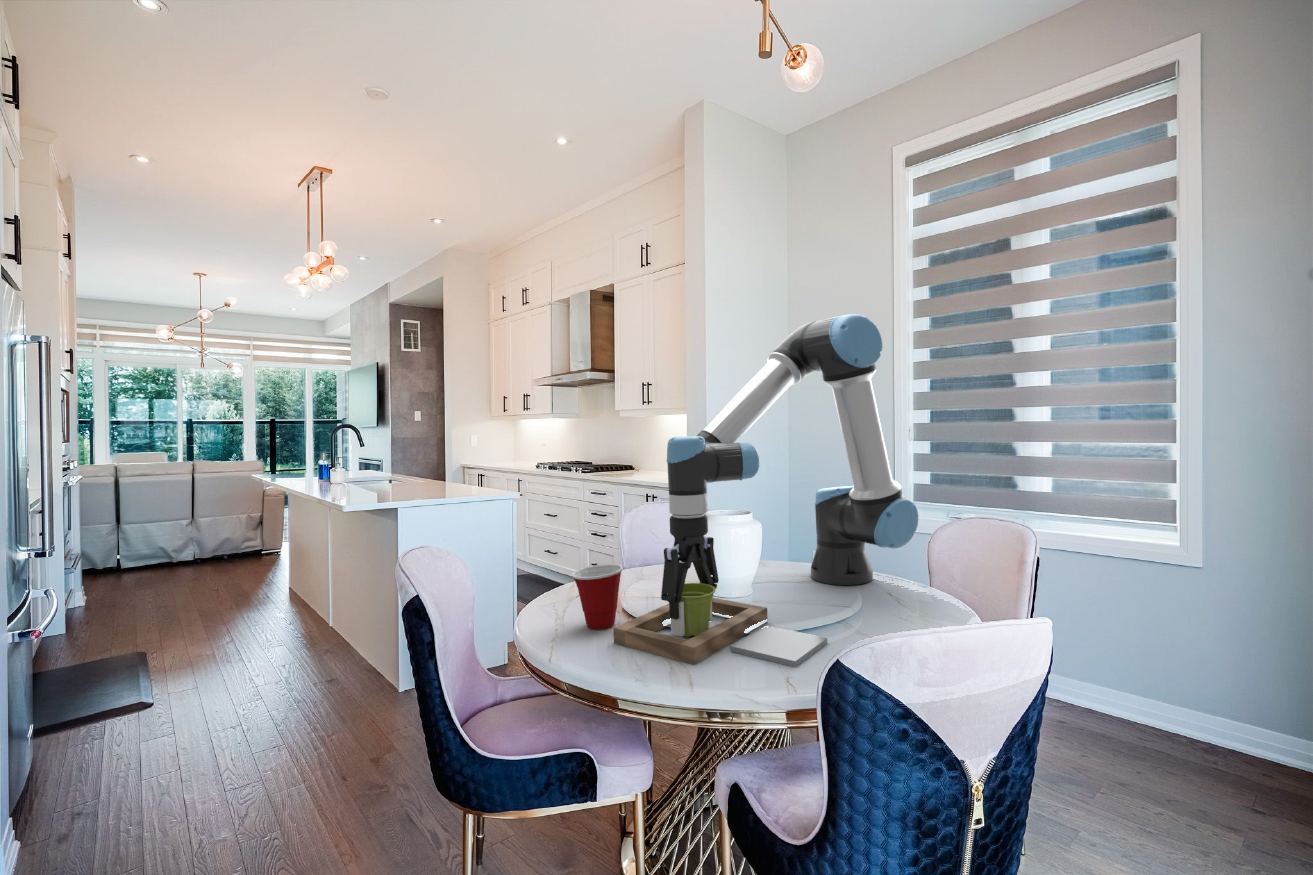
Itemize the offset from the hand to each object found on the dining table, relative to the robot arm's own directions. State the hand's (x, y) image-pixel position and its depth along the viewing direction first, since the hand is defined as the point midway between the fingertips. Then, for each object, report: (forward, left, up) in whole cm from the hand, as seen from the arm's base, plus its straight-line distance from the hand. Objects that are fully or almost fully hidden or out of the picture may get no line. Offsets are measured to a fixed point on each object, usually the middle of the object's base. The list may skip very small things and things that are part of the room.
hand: (692, 627), depth 128 cm
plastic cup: (+7, -19, -1) cm, 20 cm away
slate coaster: (-2, +18, -1) cm, 18 cm away
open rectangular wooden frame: (0, 0, -1) cm, 1 cm away
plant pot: (0, 0, -1) cm, 1 cm away
